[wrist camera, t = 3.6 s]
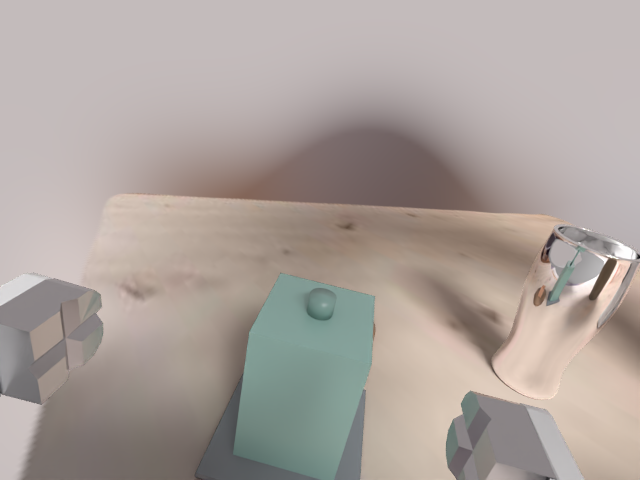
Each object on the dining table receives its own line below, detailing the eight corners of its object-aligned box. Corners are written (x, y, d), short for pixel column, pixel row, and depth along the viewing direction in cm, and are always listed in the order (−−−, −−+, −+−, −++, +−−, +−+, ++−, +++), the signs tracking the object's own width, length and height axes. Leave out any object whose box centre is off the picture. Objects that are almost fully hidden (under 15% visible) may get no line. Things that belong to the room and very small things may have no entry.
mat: (249, 362, 32) (249, 359, 32) (364, 393, 31) (365, 390, 31) (195, 476, 23) (195, 472, 22) (355, 523, 22) (357, 519, 22)
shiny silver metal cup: (568, 416, 33) (666, 272, 27) (487, 385, 35) (561, 242, 28) (553, 366, 39) (629, 239, 33) (484, 341, 41) (544, 216, 34)
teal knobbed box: (263, 379, 30) (283, 257, 25) (343, 400, 29) (379, 281, 25) (232, 454, 24) (251, 313, 19) (333, 483, 23) (377, 346, 19)
